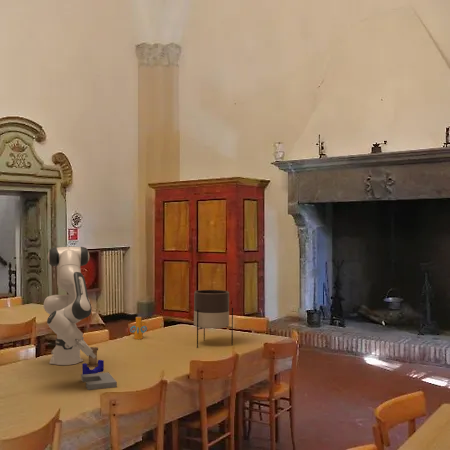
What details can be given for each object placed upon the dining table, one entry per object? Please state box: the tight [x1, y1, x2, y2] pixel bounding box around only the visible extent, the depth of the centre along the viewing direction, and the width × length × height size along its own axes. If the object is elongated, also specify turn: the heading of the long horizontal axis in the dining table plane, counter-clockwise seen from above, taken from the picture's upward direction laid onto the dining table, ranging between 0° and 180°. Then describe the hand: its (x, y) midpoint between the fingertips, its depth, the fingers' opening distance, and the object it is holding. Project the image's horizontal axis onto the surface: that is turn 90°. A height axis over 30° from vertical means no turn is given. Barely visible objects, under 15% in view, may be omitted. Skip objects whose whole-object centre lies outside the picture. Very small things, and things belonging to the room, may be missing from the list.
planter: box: [193, 289, 234, 349], centre depth 393 cm, size 26×25×35 cm
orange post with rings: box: [129, 316, 148, 340], centre depth 412 cm, size 12×10×15 cm
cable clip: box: [81, 359, 105, 375], centre depth 316 cm, size 12×4×6 cm, turn 143°
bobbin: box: [86, 346, 99, 368], centre depth 295 cm, size 6×6×9 cm
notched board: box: [80, 371, 118, 391], centre depth 297 cm, size 20×14×2 cm
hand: (94, 356), depth 296 cm, fingers closed on bobbin, 4 cm apart
